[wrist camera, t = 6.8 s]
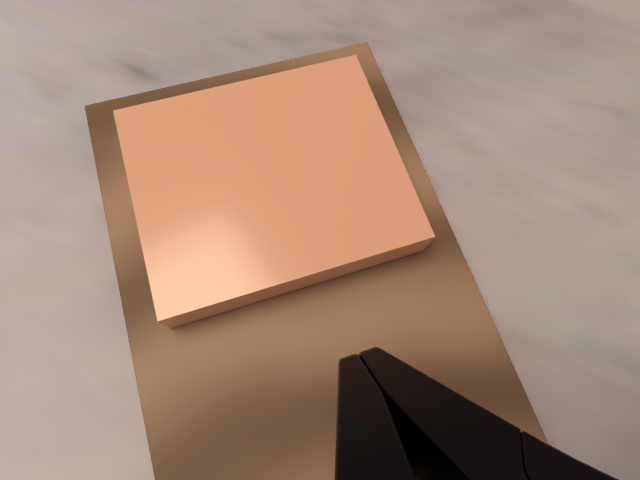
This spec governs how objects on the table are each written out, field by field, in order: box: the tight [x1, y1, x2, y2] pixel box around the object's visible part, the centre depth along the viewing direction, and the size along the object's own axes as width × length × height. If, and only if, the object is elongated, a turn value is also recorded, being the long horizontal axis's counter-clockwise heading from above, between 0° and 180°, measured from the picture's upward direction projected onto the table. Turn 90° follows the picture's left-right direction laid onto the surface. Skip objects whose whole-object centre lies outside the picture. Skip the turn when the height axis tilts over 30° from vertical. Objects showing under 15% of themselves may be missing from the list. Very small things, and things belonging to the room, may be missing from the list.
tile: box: [113, 55, 435, 329], centre depth 17 cm, size 2×10×8 cm
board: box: [85, 42, 548, 480], centre depth 18 cm, size 19×13×2 cm
